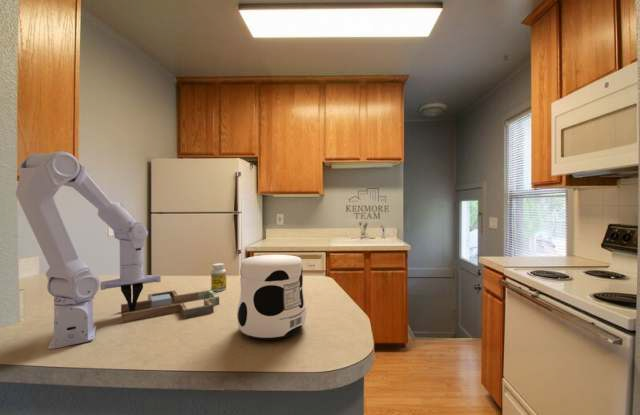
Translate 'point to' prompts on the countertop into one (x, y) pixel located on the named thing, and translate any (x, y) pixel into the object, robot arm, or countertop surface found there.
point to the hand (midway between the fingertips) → (132, 310)
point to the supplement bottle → (218, 277)
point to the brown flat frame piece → (172, 306)
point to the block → (160, 300)
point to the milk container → (271, 297)
